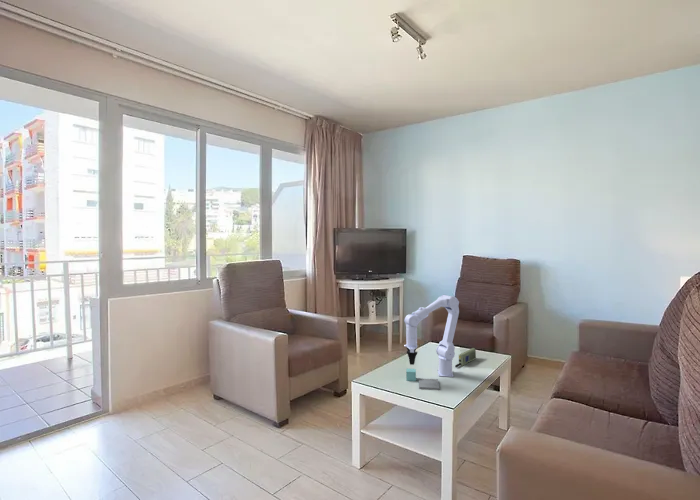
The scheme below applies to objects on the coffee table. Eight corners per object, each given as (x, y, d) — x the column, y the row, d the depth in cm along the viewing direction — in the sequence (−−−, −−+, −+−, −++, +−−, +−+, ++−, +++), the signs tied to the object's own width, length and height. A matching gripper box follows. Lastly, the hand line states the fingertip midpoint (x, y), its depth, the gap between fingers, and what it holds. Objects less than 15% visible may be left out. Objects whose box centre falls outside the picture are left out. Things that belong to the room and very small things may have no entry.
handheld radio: (476, 359, 237) (458, 369, 218) (471, 358, 239) (453, 368, 220) (476, 348, 237) (458, 357, 218) (471, 347, 239) (453, 356, 220)
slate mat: (418, 380, 201) (418, 378, 201) (437, 381, 199) (437, 379, 199) (419, 388, 189) (419, 386, 189) (439, 389, 187) (439, 387, 187)
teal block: (406, 377, 205) (406, 368, 205) (415, 378, 204) (415, 368, 204) (406, 380, 200) (406, 371, 200) (415, 381, 199) (415, 372, 199)
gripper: (404, 333, 209) (404, 357, 209) (404, 340, 195) (404, 366, 195) (416, 333, 208) (416, 358, 208) (418, 340, 194) (418, 366, 194)
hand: (411, 362), depth 201 cm, fingers open, 7 cm apart
